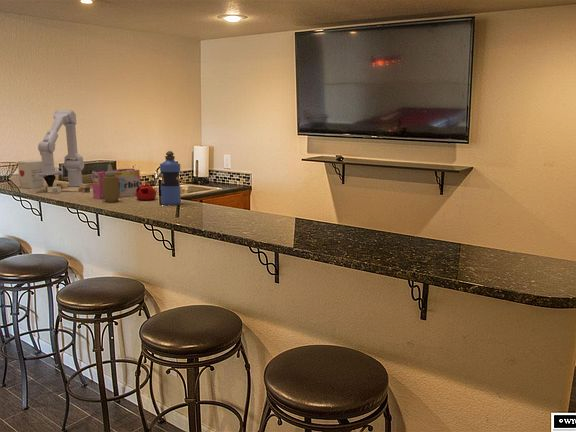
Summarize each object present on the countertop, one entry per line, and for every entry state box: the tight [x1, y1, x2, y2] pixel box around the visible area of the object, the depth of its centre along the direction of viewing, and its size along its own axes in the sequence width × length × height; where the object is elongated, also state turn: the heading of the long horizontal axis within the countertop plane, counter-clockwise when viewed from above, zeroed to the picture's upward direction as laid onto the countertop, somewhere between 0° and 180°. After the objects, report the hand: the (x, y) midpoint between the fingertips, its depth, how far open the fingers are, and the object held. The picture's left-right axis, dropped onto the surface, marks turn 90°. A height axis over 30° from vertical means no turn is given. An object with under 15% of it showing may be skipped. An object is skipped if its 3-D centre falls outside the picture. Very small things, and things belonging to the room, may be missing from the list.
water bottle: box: [159, 150, 182, 206], centre depth 232 cm, size 9×9×25 cm
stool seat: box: [56, 182, 93, 194], centre depth 269 cm, size 20×20×3 cm
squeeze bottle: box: [102, 163, 120, 203], centre depth 235 cm, size 8×8×18 cm
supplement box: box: [17, 159, 45, 190], centre depth 275 cm, size 9×9×15 cm
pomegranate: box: [135, 181, 157, 201], centre depth 244 cm, size 10×10×9 cm
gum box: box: [91, 168, 141, 200], centre depth 252 cm, size 24×8×14 cm, turn 137°
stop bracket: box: [51, 188, 61, 195], centre depth 257 cm, size 2×4×3 cm, turn 59°
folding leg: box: [45, 186, 62, 193], centre depth 261 cm, size 8×3×3 cm, turn 109°
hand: (50, 189), depth 263 cm, fingers closed, pressing on folding leg
